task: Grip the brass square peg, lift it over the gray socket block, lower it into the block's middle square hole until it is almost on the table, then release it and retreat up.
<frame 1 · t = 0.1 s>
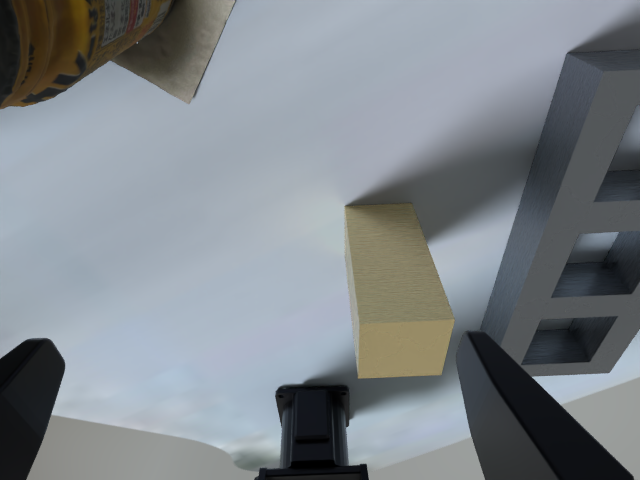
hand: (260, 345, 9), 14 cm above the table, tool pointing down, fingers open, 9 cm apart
brass peg: (376, 231, 25), on the table
gray socket block: (579, 234, 26), on the table
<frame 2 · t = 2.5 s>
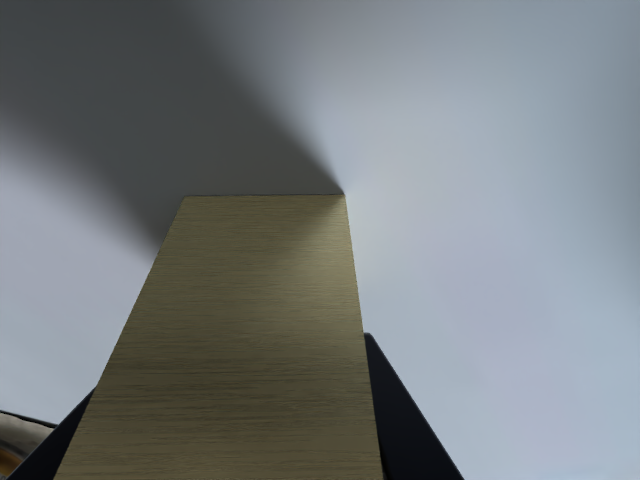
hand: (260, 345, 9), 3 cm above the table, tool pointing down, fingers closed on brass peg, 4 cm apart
brass peg: (270, 256, 11), on the table, touching gripper
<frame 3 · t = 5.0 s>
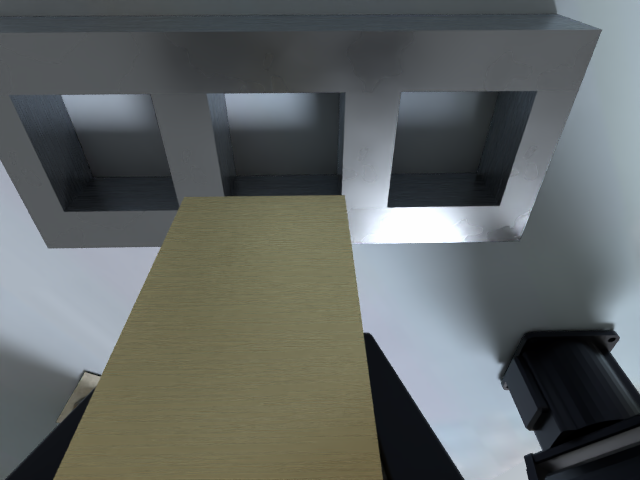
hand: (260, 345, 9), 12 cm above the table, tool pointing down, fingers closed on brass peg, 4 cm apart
condiment: (118, 407, 33), on the table
brass peg: (270, 257, 11), point 9 cm above the table, touching gripper
gray socket block: (284, 126, 18), on the table
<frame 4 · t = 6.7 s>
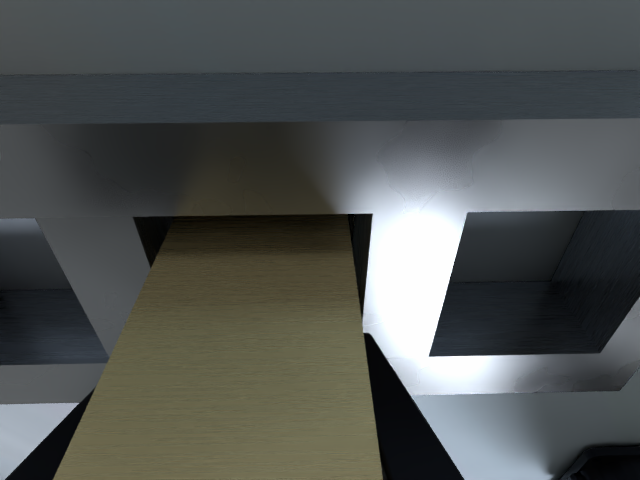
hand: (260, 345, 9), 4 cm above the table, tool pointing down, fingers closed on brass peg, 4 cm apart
brass peg: (270, 256, 11), point 1 cm above the table, touching gripper
gray socket block: (272, 227, 12), on the table
when the fingers open (4 cm above the table, at t = 7.8 s): brass peg stays where it is, resting in gray socket block.
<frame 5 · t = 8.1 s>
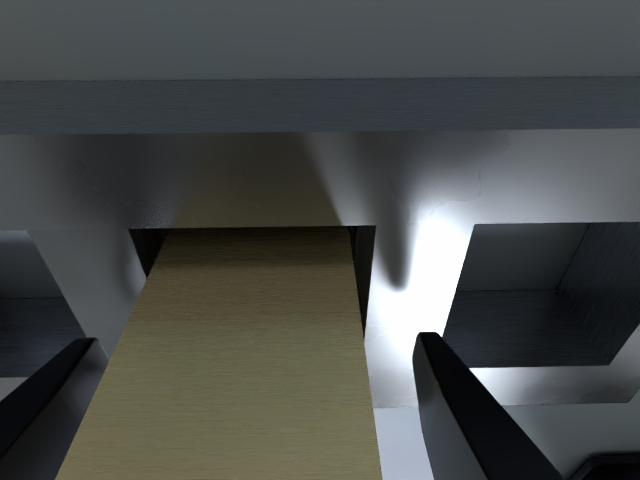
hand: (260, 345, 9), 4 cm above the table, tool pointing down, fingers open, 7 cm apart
brass peg: (273, 235, 12), resting in gray socket block
gray socket block: (272, 235, 12), on the table
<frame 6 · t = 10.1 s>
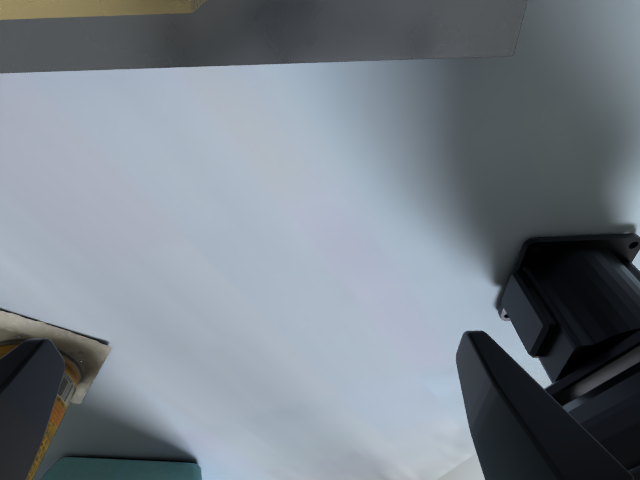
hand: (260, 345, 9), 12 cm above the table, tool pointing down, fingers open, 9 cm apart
condiment: (42, 356, 28), on the table
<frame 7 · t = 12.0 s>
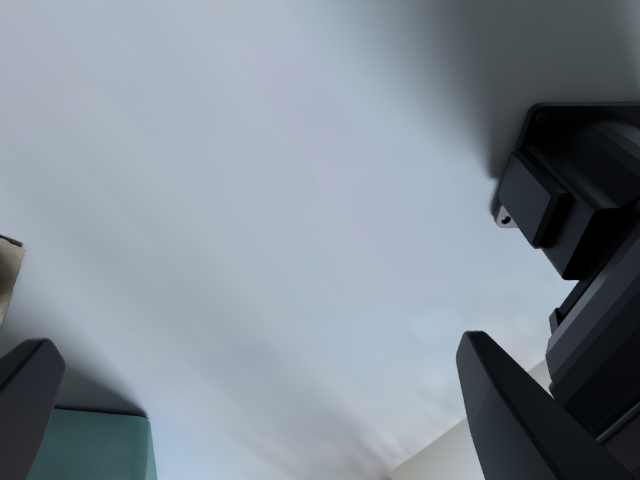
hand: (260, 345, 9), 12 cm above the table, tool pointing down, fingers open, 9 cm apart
flower pot: (79, 440, 36), on the table
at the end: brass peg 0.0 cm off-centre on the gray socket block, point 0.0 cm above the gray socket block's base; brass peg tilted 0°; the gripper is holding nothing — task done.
